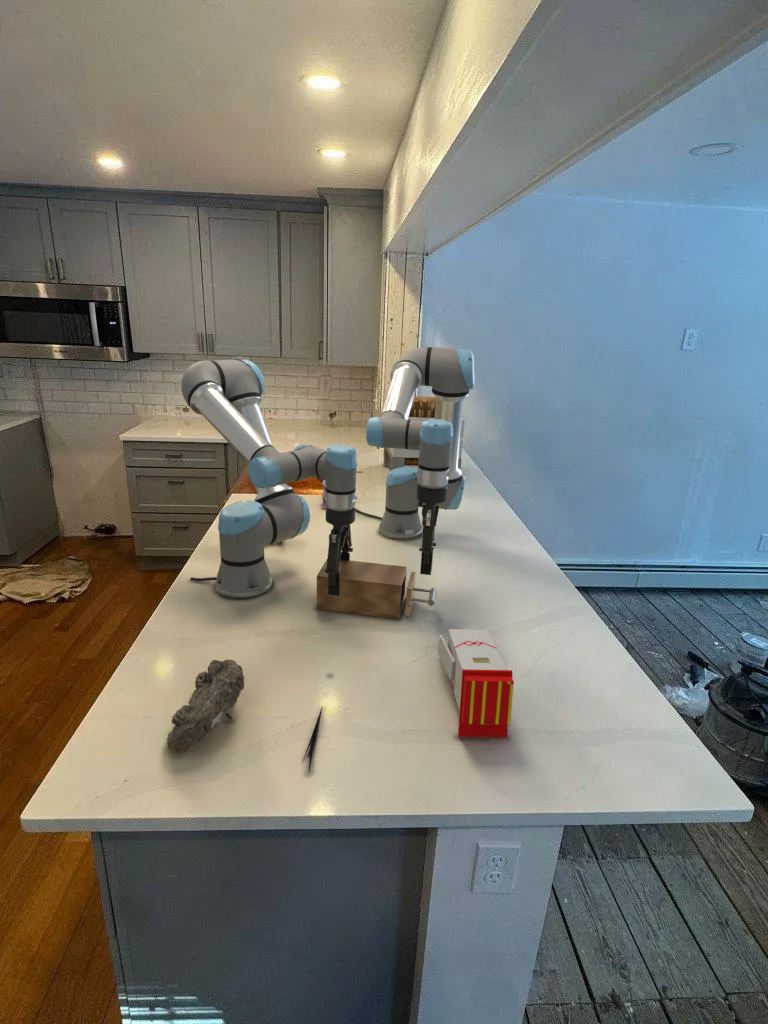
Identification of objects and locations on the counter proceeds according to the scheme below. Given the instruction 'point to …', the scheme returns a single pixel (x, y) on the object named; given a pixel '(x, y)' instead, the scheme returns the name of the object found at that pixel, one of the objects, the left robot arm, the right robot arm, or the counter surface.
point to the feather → (313, 740)
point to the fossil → (206, 705)
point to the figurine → (324, 495)
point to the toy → (478, 682)
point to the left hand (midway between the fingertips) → (339, 584)
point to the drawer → (410, 594)
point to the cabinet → (364, 589)
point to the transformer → (399, 457)
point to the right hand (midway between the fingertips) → (425, 572)
